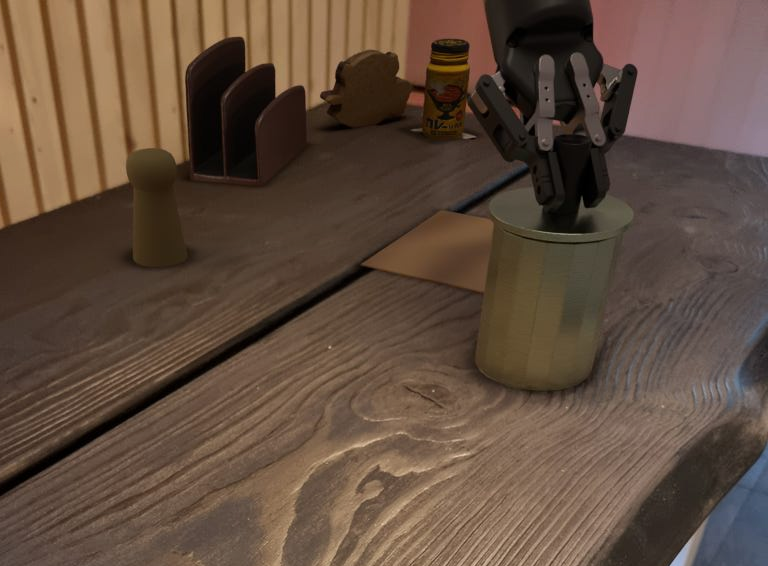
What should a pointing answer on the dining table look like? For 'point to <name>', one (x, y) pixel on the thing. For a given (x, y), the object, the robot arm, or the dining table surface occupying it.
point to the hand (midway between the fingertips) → (575, 204)
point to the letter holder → (240, 118)
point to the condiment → (446, 90)
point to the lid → (571, 218)
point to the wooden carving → (367, 89)
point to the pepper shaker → (155, 209)
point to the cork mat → (441, 251)
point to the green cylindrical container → (543, 309)
